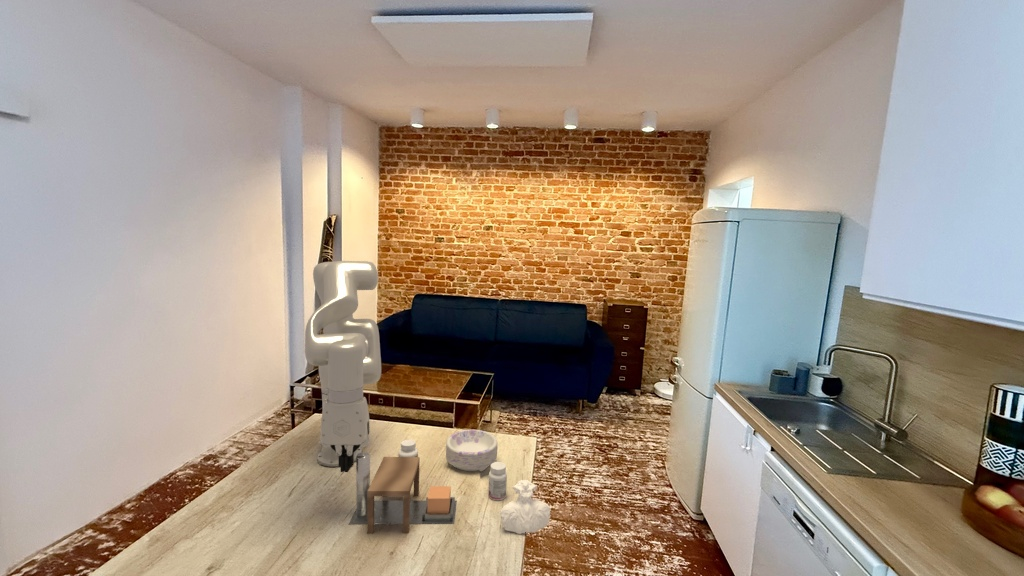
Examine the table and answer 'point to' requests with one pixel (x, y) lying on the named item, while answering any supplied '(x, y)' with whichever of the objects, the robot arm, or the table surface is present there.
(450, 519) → the metal rod stand
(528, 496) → the white lumpy bag
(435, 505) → the block
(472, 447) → the paper bowls
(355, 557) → the table surface
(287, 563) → the table surface
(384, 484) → the wooden table
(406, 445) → the supplement bottle
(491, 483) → the pill bottle
